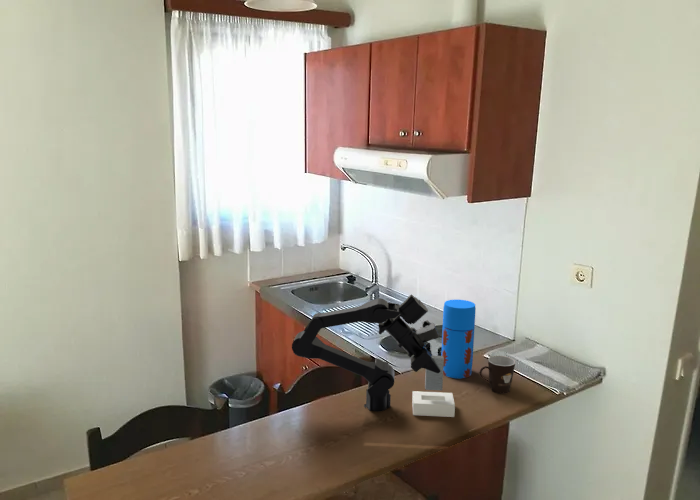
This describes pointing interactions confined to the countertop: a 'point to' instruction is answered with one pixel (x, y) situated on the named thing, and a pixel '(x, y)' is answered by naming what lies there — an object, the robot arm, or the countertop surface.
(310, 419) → the countertop surface
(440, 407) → the slot box
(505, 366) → the coffee mug
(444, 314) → the thermos
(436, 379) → the grey rectangular block
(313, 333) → the robot arm
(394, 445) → the countertop surface
